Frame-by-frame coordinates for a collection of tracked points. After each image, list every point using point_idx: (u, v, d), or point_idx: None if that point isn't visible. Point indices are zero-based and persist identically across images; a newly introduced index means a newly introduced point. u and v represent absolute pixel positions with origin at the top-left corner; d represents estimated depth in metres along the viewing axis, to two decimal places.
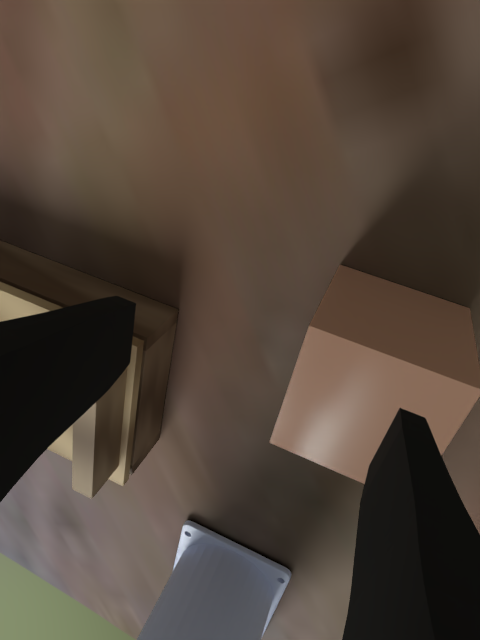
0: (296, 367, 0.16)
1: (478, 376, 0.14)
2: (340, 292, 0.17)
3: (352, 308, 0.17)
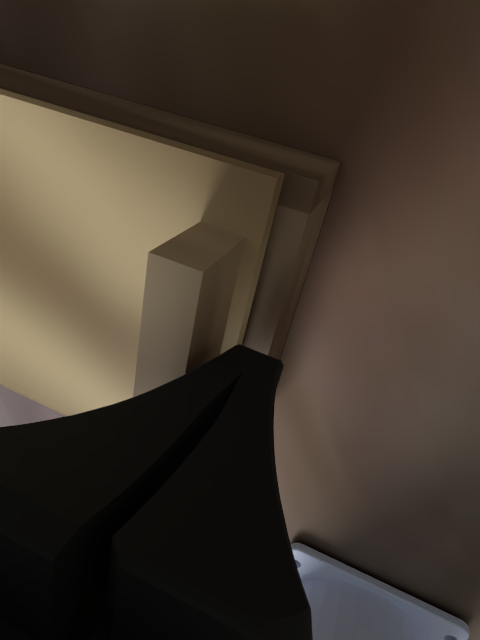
0: None
1: None
2: None
3: None
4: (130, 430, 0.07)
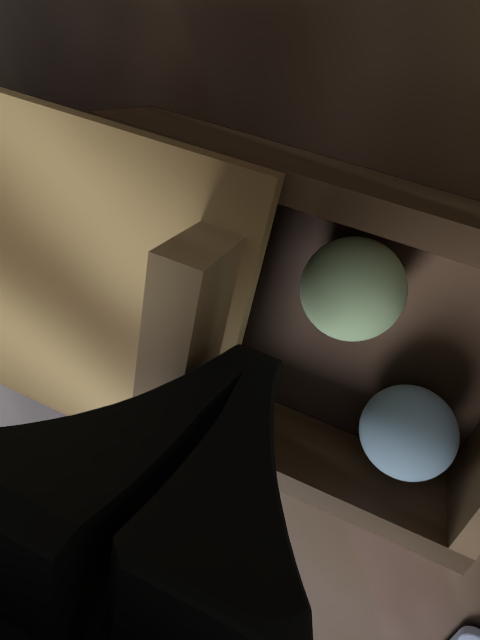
0: None
1: None
2: None
3: None
4: (130, 430, 0.07)
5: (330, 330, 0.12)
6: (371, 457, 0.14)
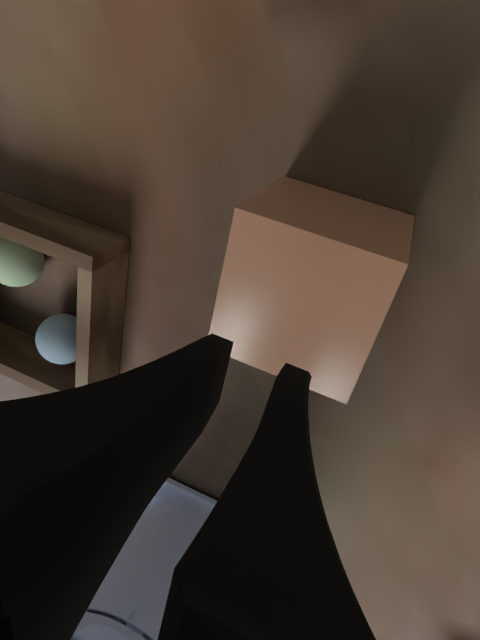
0: (226, 257, 0.15)
1: (406, 255, 0.14)
2: (278, 192, 0.17)
3: (287, 202, 0.16)
4: (90, 412, 0.07)
5: None
6: None
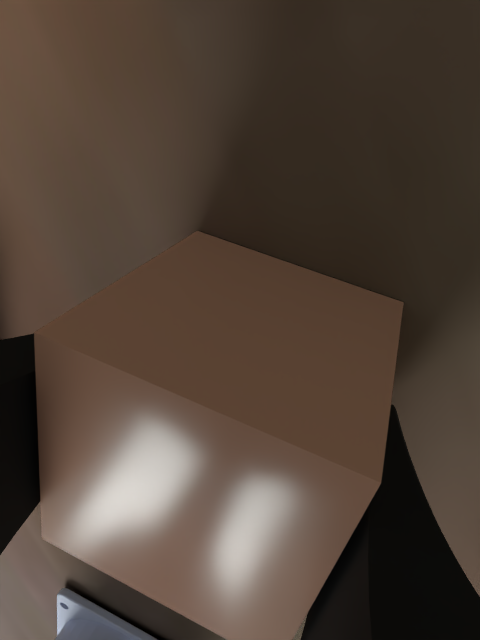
0: (39, 414, 0.08)
1: (379, 444, 0.07)
2: (163, 272, 0.10)
3: (167, 299, 0.09)
4: None
5: None
6: None
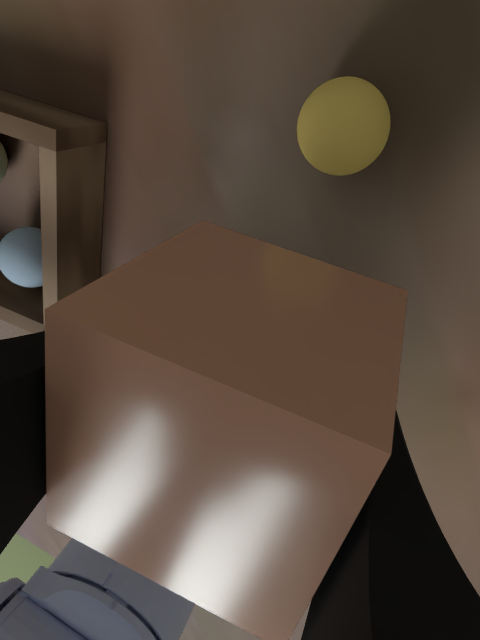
0: (48, 393, 0.08)
1: (388, 419, 0.07)
2: (169, 257, 0.10)
3: (175, 282, 0.09)
4: None
5: None
6: (1, 270, 0.22)
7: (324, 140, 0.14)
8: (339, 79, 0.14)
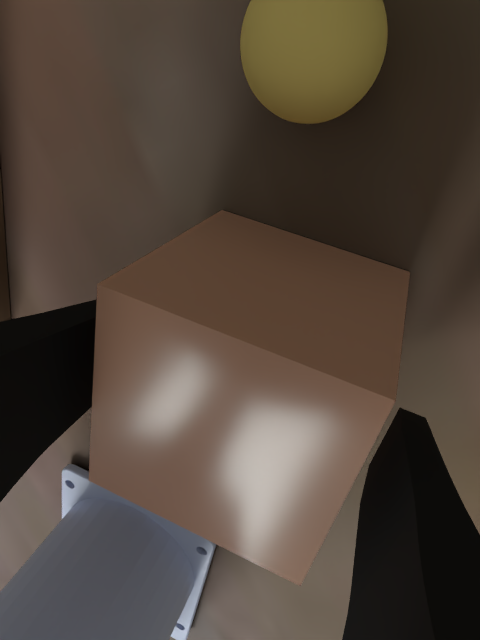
0: (96, 359, 0.09)
1: (393, 374, 0.08)
2: (197, 242, 0.11)
3: (204, 263, 0.10)
4: None
5: None
6: None
7: (279, 56, 0.08)
8: None
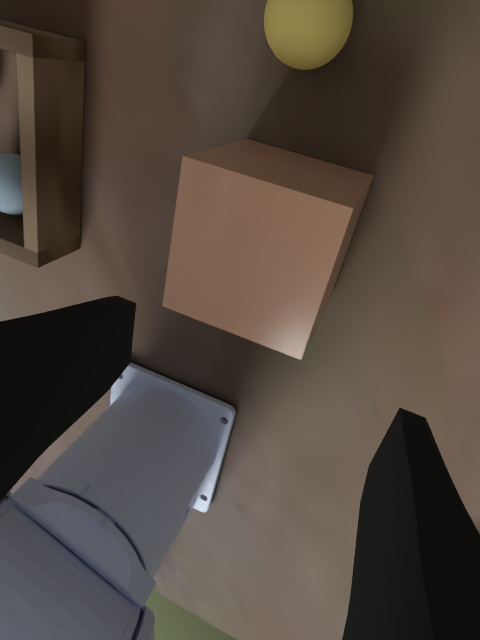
0: (176, 209, 0.15)
1: (353, 202, 0.14)
2: (233, 148, 0.17)
3: (240, 156, 0.16)
4: None
5: None
6: None
7: (288, 23, 0.14)
8: None
